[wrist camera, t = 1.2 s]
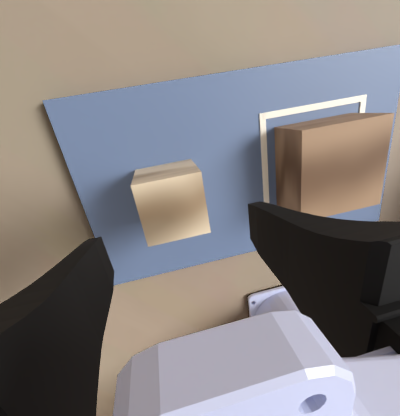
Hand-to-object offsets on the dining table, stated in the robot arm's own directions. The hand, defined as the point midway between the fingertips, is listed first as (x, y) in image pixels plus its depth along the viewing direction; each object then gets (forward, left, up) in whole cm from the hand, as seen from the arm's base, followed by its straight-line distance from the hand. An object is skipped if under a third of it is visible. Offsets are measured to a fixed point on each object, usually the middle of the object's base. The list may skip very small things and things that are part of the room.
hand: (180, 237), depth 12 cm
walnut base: (0, -13, -9) cm, 16 cm away
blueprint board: (0, -7, -10) cm, 12 cm away
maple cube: (0, 0, -9) cm, 9 cm away
